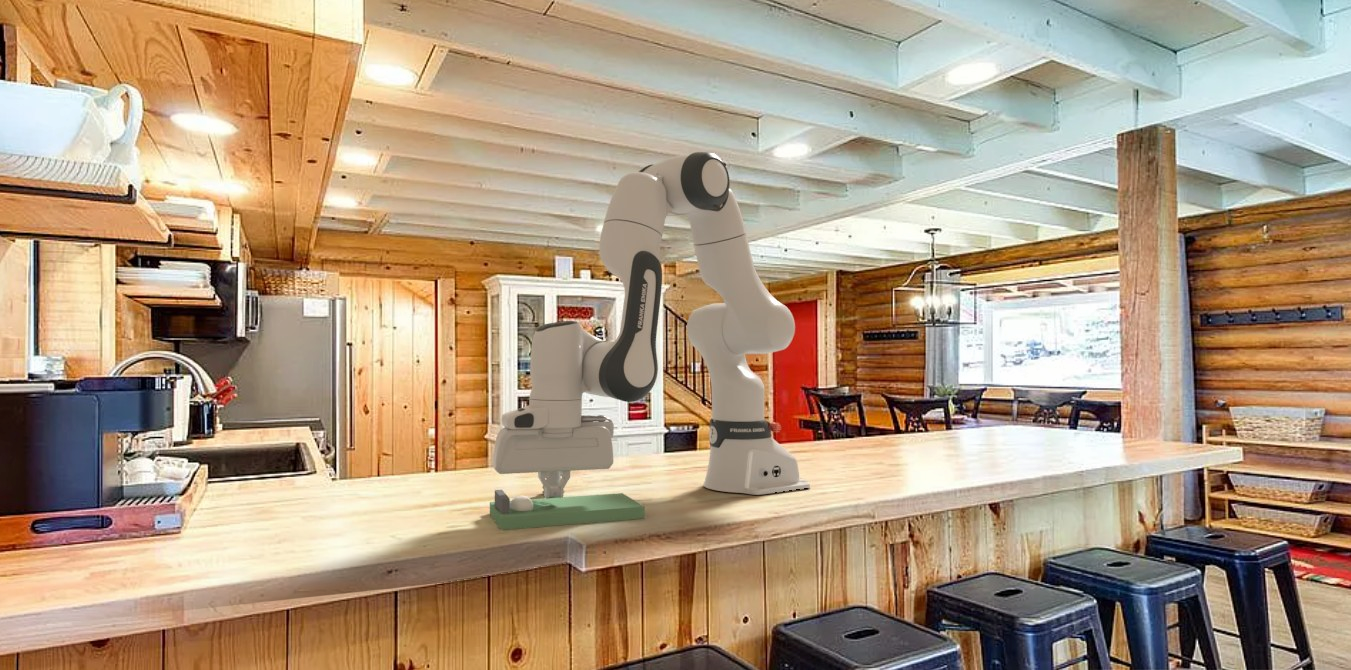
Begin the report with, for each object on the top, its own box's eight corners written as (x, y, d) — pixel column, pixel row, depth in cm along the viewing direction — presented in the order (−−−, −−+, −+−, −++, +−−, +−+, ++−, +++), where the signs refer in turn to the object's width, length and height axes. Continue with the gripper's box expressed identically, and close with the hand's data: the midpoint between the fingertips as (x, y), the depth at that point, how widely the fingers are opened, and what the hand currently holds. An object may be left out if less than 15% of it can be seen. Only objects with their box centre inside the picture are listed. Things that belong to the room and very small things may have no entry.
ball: (535, 501, 122) (516, 488, 121) (540, 506, 118) (520, 493, 117) (521, 521, 121) (502, 508, 120) (525, 527, 117) (505, 514, 116)
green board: (622, 504, 132) (622, 480, 132) (644, 518, 121) (644, 492, 121) (489, 513, 123) (490, 488, 123) (500, 530, 112) (500, 501, 112)
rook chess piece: (560, 497, 138) (560, 455, 138) (538, 496, 138) (539, 454, 139) (568, 492, 142) (568, 452, 142) (546, 491, 143) (547, 451, 143)
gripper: (608, 413, 128) (607, 490, 128) (492, 415, 120) (490, 497, 120) (619, 416, 122) (617, 497, 122) (497, 418, 115) (495, 505, 114)
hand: (553, 497), depth 121 cm, fingers closed
